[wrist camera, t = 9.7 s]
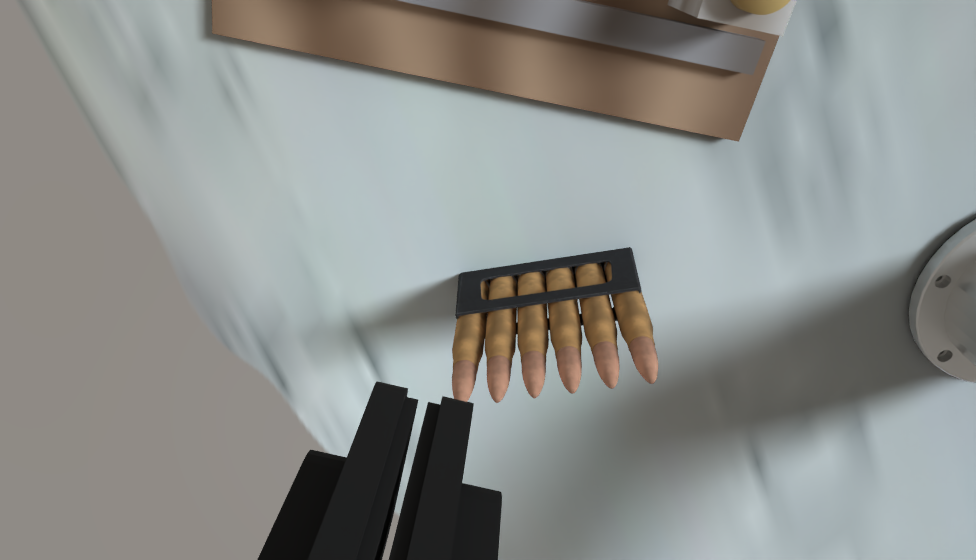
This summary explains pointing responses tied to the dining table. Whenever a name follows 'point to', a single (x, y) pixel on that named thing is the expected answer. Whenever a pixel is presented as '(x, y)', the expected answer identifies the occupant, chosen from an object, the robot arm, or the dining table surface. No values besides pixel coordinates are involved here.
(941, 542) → the dining table surface
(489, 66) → the board
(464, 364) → the ammunition clip
